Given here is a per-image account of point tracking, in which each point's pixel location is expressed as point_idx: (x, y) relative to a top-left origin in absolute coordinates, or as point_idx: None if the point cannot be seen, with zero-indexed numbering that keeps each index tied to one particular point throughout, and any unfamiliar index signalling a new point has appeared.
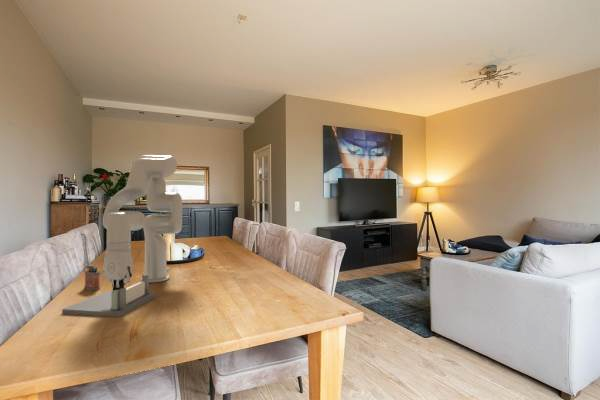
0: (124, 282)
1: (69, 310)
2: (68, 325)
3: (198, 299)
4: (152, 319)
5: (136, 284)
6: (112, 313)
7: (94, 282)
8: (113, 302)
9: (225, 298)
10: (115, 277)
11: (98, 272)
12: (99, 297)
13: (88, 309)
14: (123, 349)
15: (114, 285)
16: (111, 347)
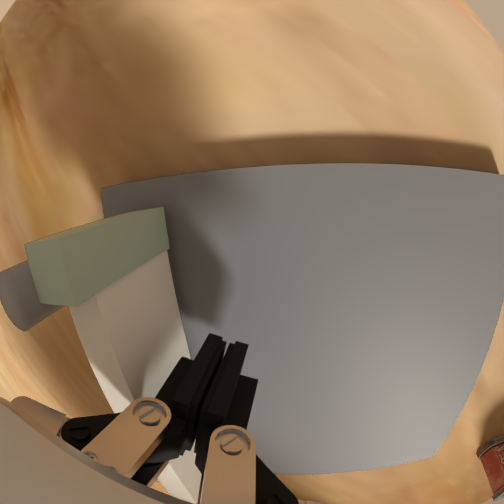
0: (48, 414)
1: (478, 171)
2: (308, 15)
3: (49, 399)
4: (13, 211)
5: (166, 478)
6: (142, 180)
7: (499, 462)
8: (118, 217)
9: (19, 392)
10: (23, 455)
11: (497, 497)
12: (436, 396)
13: (367, 191)
14: (8, 35)
15: (210, 440)
16: (27, 20)
